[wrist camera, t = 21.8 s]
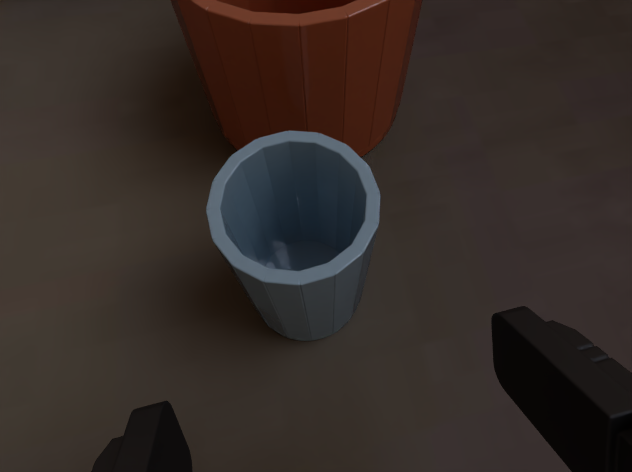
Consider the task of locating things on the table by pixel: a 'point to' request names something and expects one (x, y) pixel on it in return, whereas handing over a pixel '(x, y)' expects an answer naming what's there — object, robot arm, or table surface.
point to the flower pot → (301, 65)
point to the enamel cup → (297, 229)
